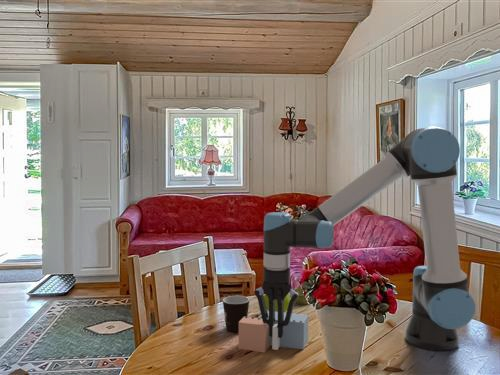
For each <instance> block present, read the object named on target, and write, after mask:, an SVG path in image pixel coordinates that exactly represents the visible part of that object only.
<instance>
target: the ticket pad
mask: <svg viewBox="0 0 500 375" xmlns="http://www.w3.org/2000/svg"><path fill="white" fill-rule="evenodd" d="M267 312H268V316H269V311H268V310H267ZM286 313H287V312H284V320H285V317H286ZM257 318H262V316H261V314H260V315H259V316H258V317H257ZM275 324H278V312H275ZM308 342H309V314H303V313H302V314H301V313H294V312H292V315H291V319H290V322H289V324H288V325H287V326H283V336H282V338H280V346H279V348H280V347H281V348H288V349H295V350H304V349H305V348H306V346H307V344H308ZM269 346H272V337H270V345H269Z"/></svg>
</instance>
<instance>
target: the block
mask: <svg viewBox="0 0 500 375" xmlns="http://www.w3.org/2000/svg"><path fill="white" fill-rule="evenodd" d="M270 346H271V345H270V336H269V325H268V324H266V323H263V320H262V318H258V317H253V316H252V317H251V316H248V317H243V318H242V319H241V320H240V321H239V333H238V350H246V351H252V352H253V351H254V352H259V353H260V352H261V353H266V351H267V350H268V348H269V347H270Z"/></svg>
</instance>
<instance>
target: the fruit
mask: <svg viewBox="0 0 500 375" xmlns="http://www.w3.org/2000/svg"><path fill="white" fill-rule="evenodd" d="M264 299H265V303H266V308H267V311H269V298H268V296H267V295H266V293H264ZM290 299H291V298H290V293H288V294H287V296H286V297H285V298H284V312H285V313H287V309H288V305H289V301H290ZM275 312H278V304H277V300H275Z"/></svg>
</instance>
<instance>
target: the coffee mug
mask: <svg viewBox="0 0 500 375" xmlns="http://www.w3.org/2000/svg"><path fill="white" fill-rule="evenodd" d="M222 305H223V313H224V314H223V315H224V321H225V322H224V323H225V329H226V332H227V333H229V334H234V335H235V334H238V335H239V321H240V320H241V319H242V318H243V317H249V316H248V315H249V306H250V298H249V297H247V296H244V295H229V296H225V297H223V299H222Z"/></svg>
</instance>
